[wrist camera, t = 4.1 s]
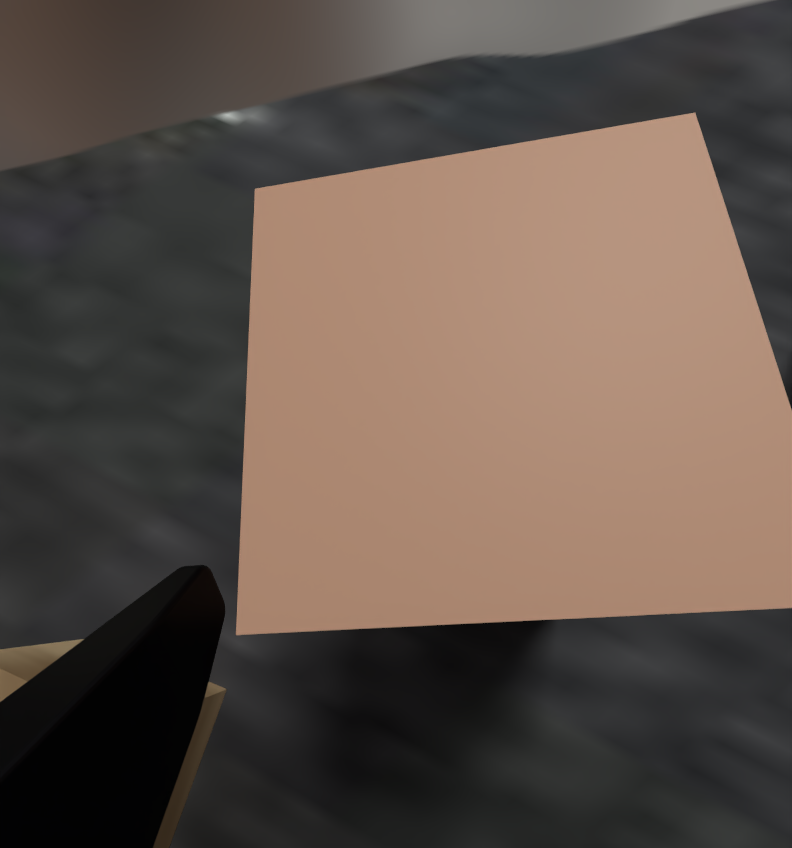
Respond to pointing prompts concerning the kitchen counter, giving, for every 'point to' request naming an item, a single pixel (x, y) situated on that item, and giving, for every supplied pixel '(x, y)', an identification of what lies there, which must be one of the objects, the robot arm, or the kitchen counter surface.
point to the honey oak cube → (21, 664)
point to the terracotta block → (510, 393)
